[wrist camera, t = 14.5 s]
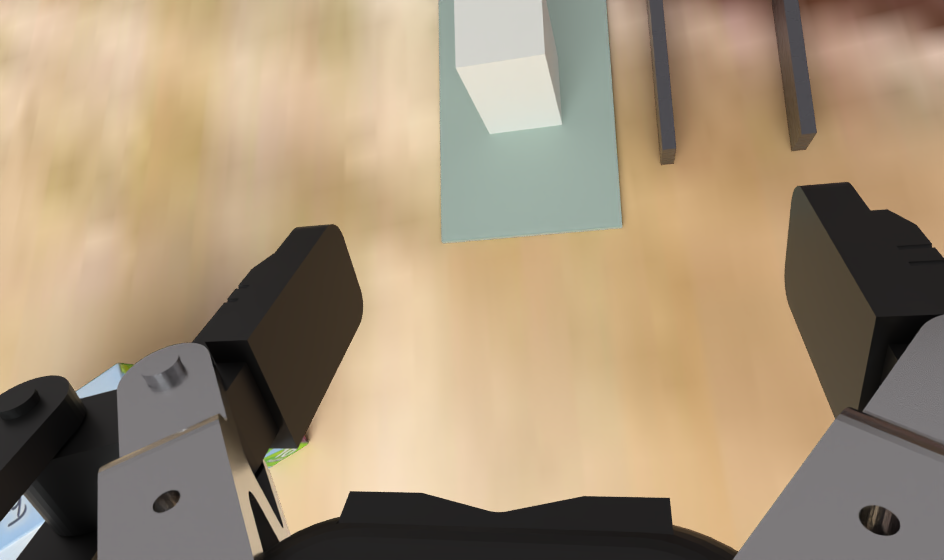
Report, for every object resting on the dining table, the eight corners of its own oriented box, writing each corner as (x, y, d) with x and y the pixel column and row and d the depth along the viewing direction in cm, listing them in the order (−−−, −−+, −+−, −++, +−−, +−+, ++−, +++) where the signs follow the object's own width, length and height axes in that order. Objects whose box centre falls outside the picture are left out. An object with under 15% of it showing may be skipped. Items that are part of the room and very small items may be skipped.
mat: (602, -44, 45) (602, -48, 45) (622, 228, 41) (622, 226, 41) (440, -15, 48) (438, -18, 48) (443, 243, 44) (441, 241, 44)
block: (558, 57, 44) (540, -28, 36) (562, 124, 43) (544, 54, 35) (487, 68, 45) (453, -12, 37) (489, 134, 44) (455, 67, 36)
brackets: (782, -23, 42) (791, -49, 40) (805, 149, 40) (816, 132, 37) (646, -1, 44) (647, -24, 42) (660, 165, 42) (662, 149, 39)
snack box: (280, 372, 45) (116, 355, 31) (313, 444, 44) (157, 460, 29) (47, 522, 47) (-207, 571, 33) (71, 596, 46) (-186, 680, 31)
